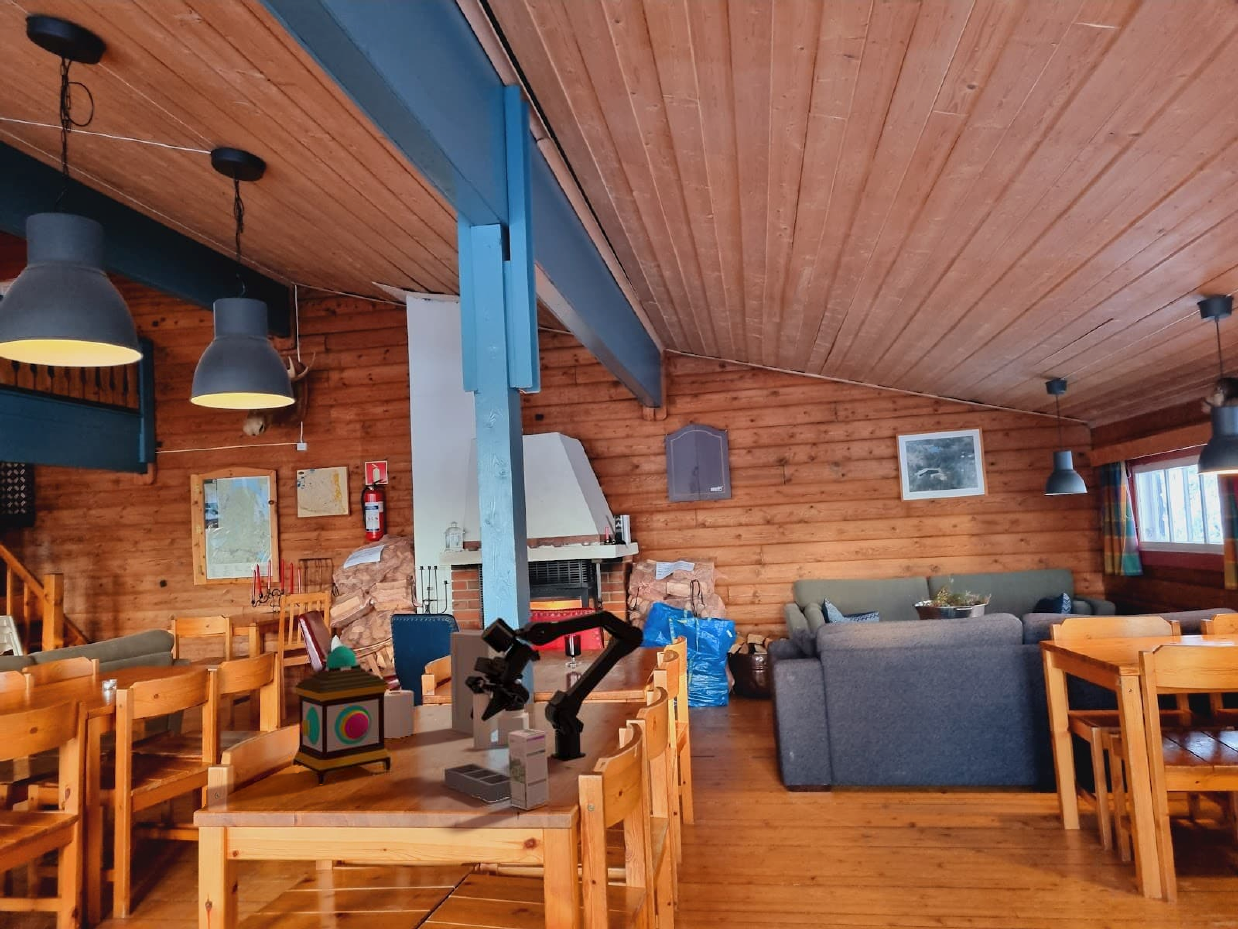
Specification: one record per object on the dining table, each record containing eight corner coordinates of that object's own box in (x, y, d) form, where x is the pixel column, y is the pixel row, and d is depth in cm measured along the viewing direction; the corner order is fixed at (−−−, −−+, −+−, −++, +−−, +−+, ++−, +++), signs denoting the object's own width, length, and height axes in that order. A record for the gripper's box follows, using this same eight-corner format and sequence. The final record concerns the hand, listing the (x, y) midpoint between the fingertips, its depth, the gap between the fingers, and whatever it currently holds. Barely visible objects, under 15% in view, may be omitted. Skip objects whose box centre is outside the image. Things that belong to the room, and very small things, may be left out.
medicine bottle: (529, 739, 231) (528, 694, 233) (524, 745, 224) (522, 698, 226) (504, 739, 232) (503, 695, 233) (497, 745, 225) (496, 699, 226)
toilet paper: (395, 740, 237) (394, 696, 238) (369, 737, 242) (369, 694, 243) (421, 733, 245) (420, 691, 246) (395, 730, 251) (395, 689, 252)
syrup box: (549, 805, 169) (547, 730, 170) (526, 812, 165) (524, 735, 166) (532, 800, 173) (530, 727, 174) (508, 806, 169) (507, 732, 170)
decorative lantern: (285, 773, 203) (285, 647, 207) (364, 758, 216) (363, 639, 219) (315, 789, 188) (315, 652, 191) (398, 771, 201) (397, 643, 204)
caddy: (520, 796, 176) (520, 778, 176) (491, 803, 171) (490, 785, 172) (473, 779, 191) (472, 763, 191) (444, 785, 186) (444, 769, 187)
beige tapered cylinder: (494, 747, 196) (493, 694, 198) (479, 750, 194) (478, 696, 195) (485, 744, 199) (484, 692, 201) (470, 747, 197) (469, 694, 198)
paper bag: (464, 722, 260) (462, 629, 263) (510, 721, 257) (508, 628, 260) (440, 735, 241) (439, 636, 244) (490, 735, 239) (487, 634, 242)
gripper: (470, 642, 208) (433, 694, 199) (518, 645, 196) (481, 701, 186) (496, 670, 213) (461, 723, 204) (545, 675, 200) (510, 731, 191)
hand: (477, 719), depth 196 cm, fingers closed on beige tapered cylinder, 4 cm apart
